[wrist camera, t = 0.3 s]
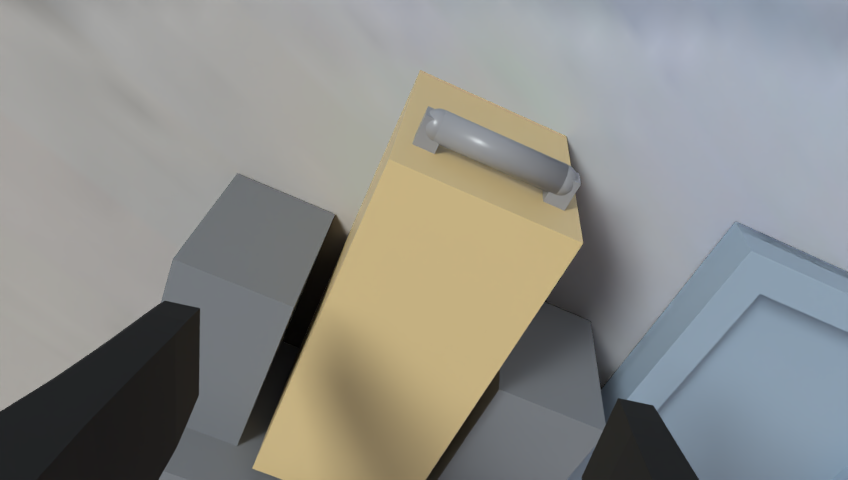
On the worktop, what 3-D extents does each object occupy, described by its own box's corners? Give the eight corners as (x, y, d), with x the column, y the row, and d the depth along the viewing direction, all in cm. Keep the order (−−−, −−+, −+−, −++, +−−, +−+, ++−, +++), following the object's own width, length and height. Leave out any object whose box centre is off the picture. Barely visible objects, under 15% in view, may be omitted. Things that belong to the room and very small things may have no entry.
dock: (590, 321, 22) (613, 480, 16) (451, 512, 27) (436, 676, 22) (237, 173, 20) (143, 296, 15) (165, 405, 26) (79, 554, 21)
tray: (1010, 345, 20) (1043, 380, 19) (702, 601, 28) (710, 639, 27) (735, 221, 19) (751, 250, 18) (493, 524, 27) (492, 559, 26)
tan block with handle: (582, 106, 18) (605, 209, 14) (420, 382, 24) (397, 521, 19) (433, 38, 18) (405, 121, 13) (304, 336, 23) (252, 468, 19)
